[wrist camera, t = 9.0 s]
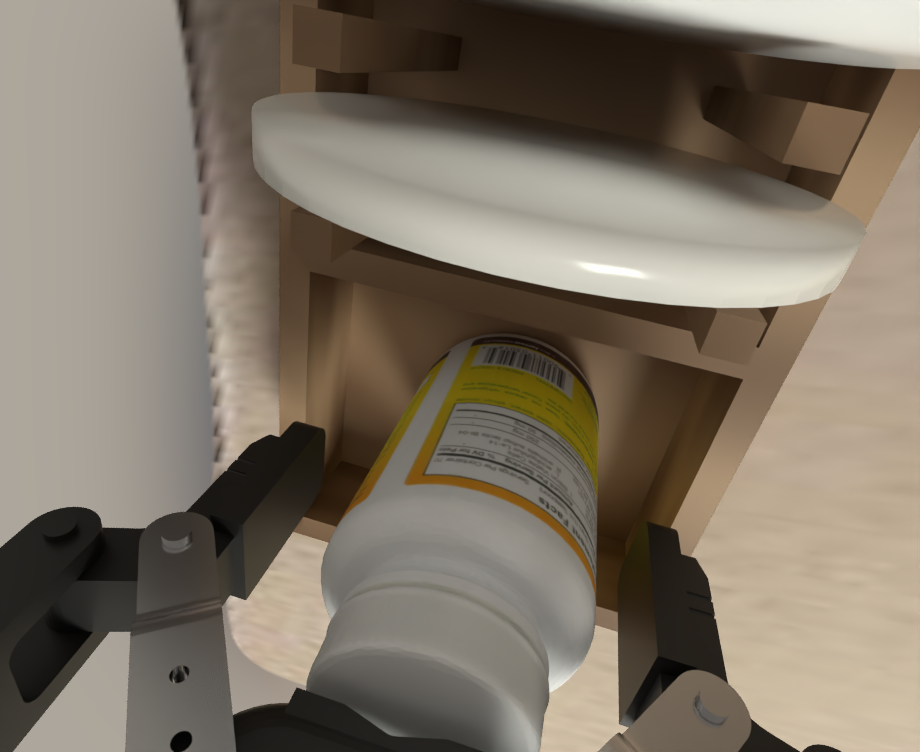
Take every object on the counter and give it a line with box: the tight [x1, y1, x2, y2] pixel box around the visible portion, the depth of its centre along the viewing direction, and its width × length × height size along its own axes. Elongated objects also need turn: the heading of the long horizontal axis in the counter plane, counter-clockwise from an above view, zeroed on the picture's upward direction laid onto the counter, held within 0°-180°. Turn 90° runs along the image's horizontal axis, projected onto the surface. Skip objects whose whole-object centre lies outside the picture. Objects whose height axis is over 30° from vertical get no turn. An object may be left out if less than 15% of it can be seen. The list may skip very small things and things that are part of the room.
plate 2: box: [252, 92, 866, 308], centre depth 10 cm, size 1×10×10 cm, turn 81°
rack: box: [280, 0, 920, 632], centre depth 13 cm, size 19×12×8 cm, turn 171°
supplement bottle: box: [306, 333, 599, 752], centre depth 13 cm, size 6×6×10 cm
